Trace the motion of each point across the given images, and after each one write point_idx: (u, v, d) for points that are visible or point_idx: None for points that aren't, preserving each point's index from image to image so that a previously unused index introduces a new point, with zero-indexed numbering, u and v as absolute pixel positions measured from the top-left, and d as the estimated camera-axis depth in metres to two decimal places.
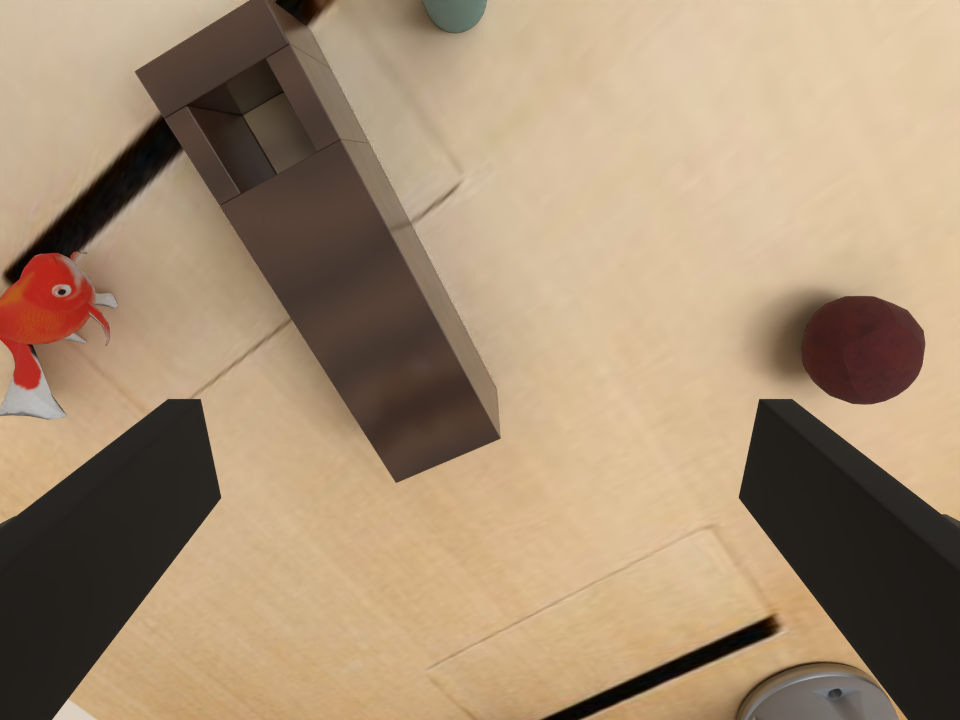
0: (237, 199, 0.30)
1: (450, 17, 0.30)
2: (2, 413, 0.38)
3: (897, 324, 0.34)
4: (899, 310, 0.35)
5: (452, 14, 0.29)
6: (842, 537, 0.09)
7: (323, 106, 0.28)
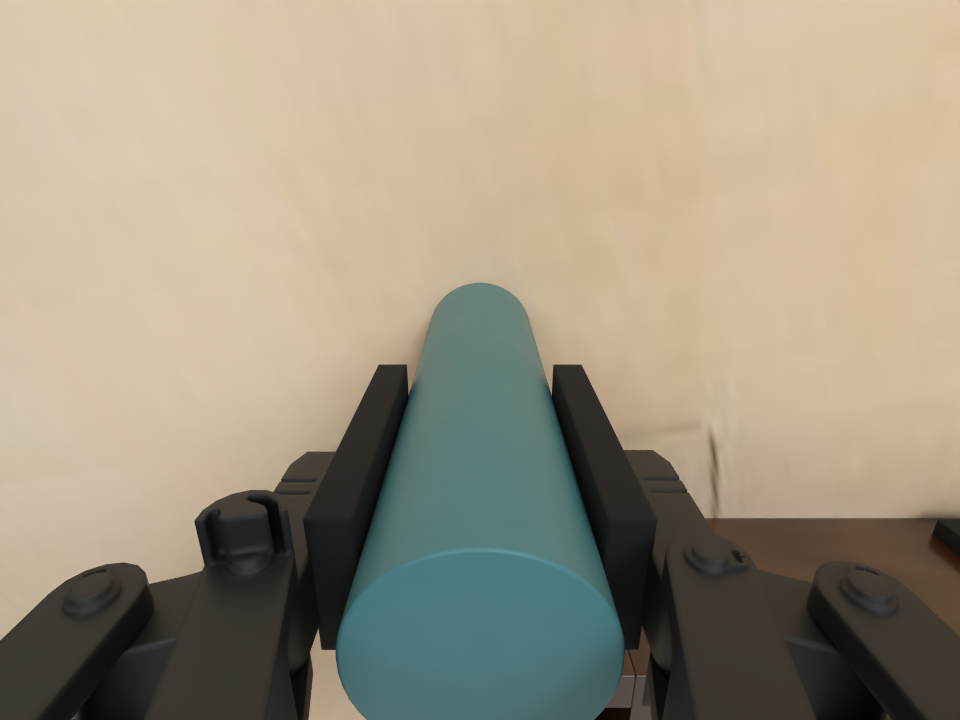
0: None
1: None
2: None
3: None
4: None
5: None
6: None
7: None
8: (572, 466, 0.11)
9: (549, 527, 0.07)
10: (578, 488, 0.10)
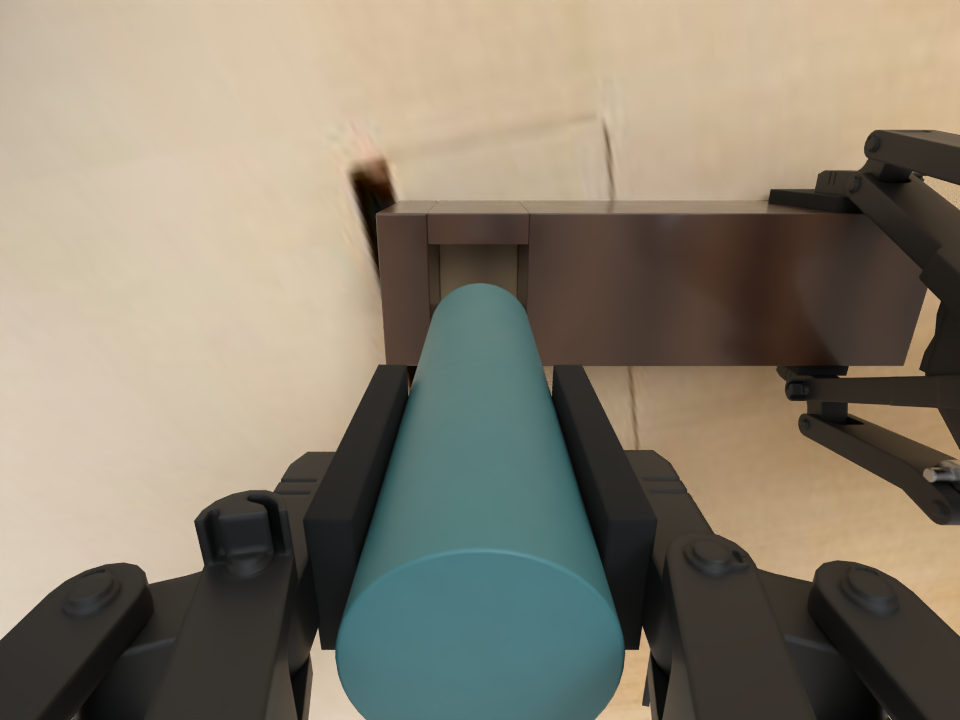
0: None
1: None
2: None
3: None
4: None
5: None
6: None
7: (492, 213, 0.26)
8: (572, 466, 0.11)
9: (549, 527, 0.07)
10: (578, 488, 0.10)
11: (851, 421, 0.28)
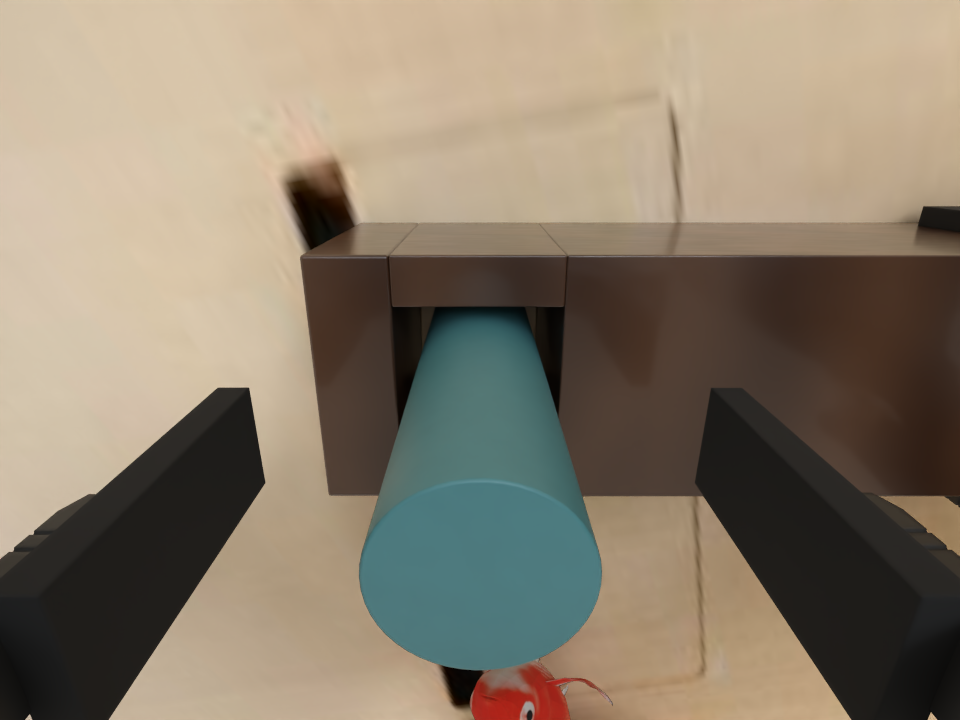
0: None
1: None
2: None
3: None
4: None
5: None
6: (775, 514, 0.10)
7: (503, 254, 0.15)
8: (561, 430, 0.12)
9: (538, 467, 0.09)
10: (566, 446, 0.11)
11: None
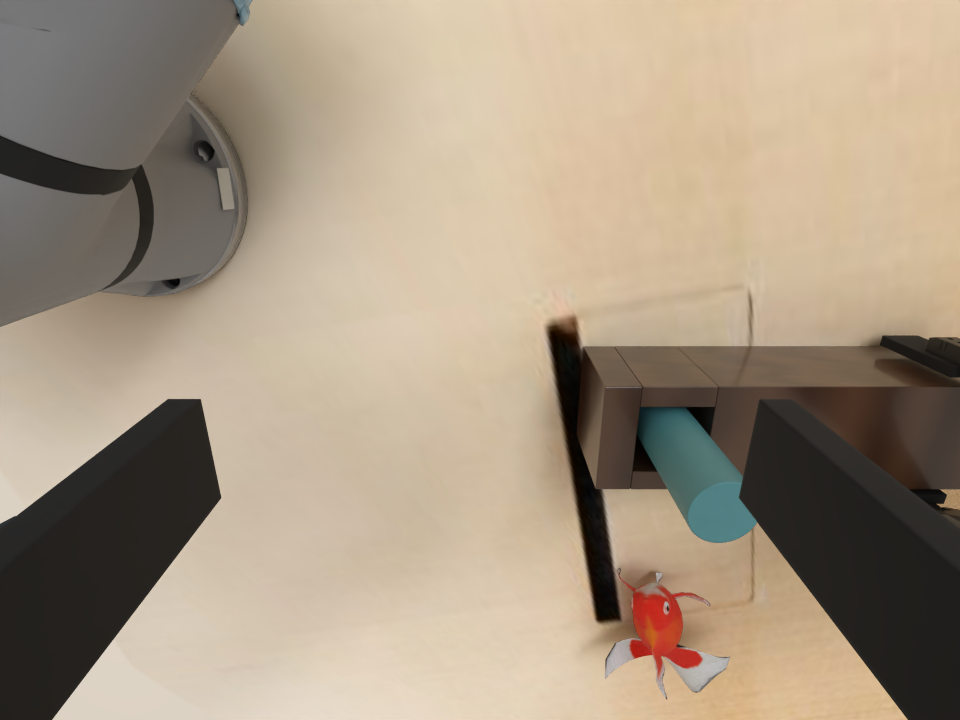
0: None
1: None
2: (699, 688, 0.49)
3: None
4: None
5: None
6: (842, 537, 0.09)
7: (691, 386, 0.35)
8: None
9: (741, 478, 0.29)
10: None
11: None
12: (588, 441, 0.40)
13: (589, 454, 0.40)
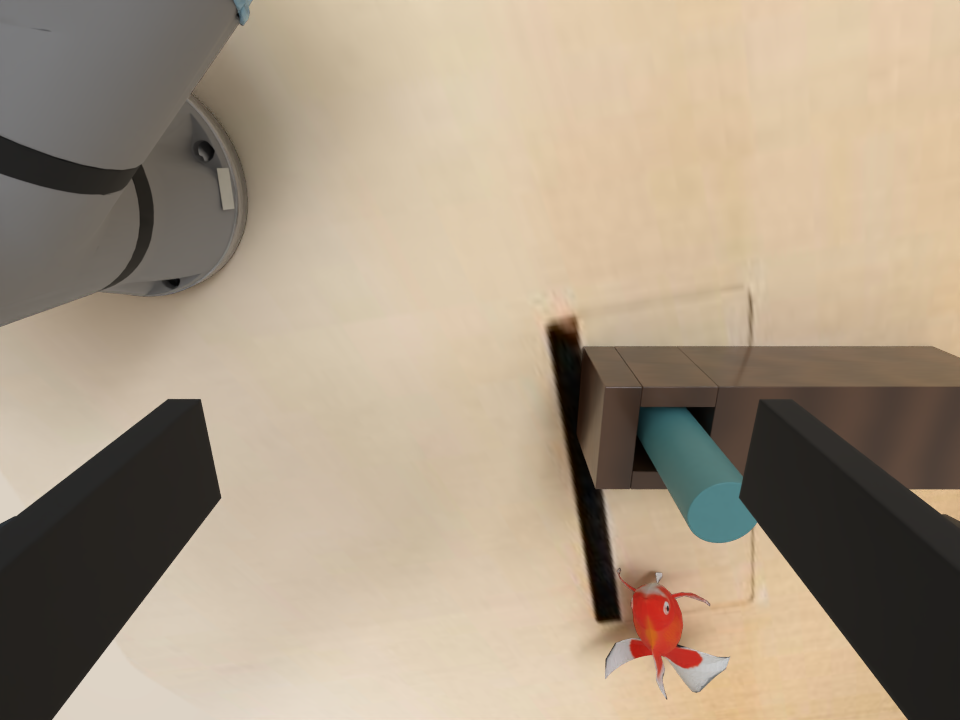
0: None
1: None
2: (699, 688, 0.49)
3: None
4: None
5: None
6: (842, 537, 0.09)
7: (691, 386, 0.35)
8: None
9: (741, 478, 0.29)
10: None
11: None
12: (588, 441, 0.40)
13: (589, 454, 0.40)
